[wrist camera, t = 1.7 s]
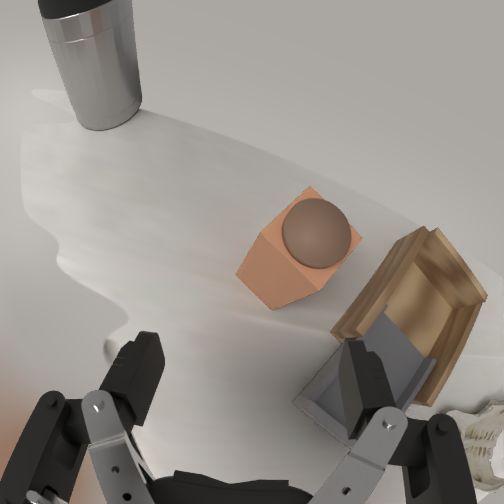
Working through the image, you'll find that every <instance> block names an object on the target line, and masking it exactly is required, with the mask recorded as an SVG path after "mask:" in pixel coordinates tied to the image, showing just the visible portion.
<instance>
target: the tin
mask: <svg viewBox="0 0 504 504" xmlns="http://www.w3.org/2000/svg"><path fill="white" fill-rule="evenodd" d="M361 239H362V237H361V235H360V234H359V233H358V232H357V231H356V230H355V229H354V228H353V227H352V226H351V225H350V224H349V223H348V221H347V219H346V217H345V216H344V214H343V213H342V212H341V211H340V210H339V209H338V208H337V207H336V206H335V205H333V204H332V203H330V202H328V201H326V200H324V199H323V198H322V197H321V196H320V195H319V194H318V193H317V192H316V191H315V190H314V189H313V188H312V187H311V186H309V187H308V188H307V189H306V190H305V191H304V192H303V193H302V194H301V195H300V196H298V197H297V198H296V199H295V200H294V201H293V202H292V203H291V204H290V205H289V206H288V207H287V208H286V209H285V210H284V211H283V212H281V213H280V214H279V215H278V216H277V217H276V218H275V219H274V220H273V221H272V222H271V223H270V224H269V225H268V226H267V227H266V228H265V229H263V230H262V231H261V232H260V234H259V236H258V237H257V239H256V241H255V242H254V244H253V246H252V247H251V249H250V251H249V253H248V254H247V256H246V258H245V259H244V261H243V263H242V265H241V266H240V268H239V270H238V271H237V273H236V276H237V277H238V278H239V279H240V280H241V281H242V282H243V283H244V284H245V285H246V286H248V287H249V288H250V289H251V290H252V291H253V292H254V293H255V294H256V295H257V296H258V297H259V298H260V299H261V300H262V301H263V302H264V303H265V304H266V305H267V306H268V307H269V308H270V309H271V310H275V309H277V308H279V307H282V306H284V305H287V304H289V303H292V302H294V301H296V300H299V299H301V298H304V297H306V296H308V295H311V294H313V293H315V292H318V291H320V289H321V288H322V287H323V286H324V285H325V284H326V282H327V281H328V280H329V279H330V278H331V276H332V275H333V274H334V273H335V272H336V270H337V269H338V268H339V267H340V265H341V264H342V263H343V262H344V260H345V259H346V258H347V257H348V256H349V254H350V253H351V252H352V251H353V249H354V248H355V247H356V245H357V244H358V243H359V242H360V240H361Z"/></svg>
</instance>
